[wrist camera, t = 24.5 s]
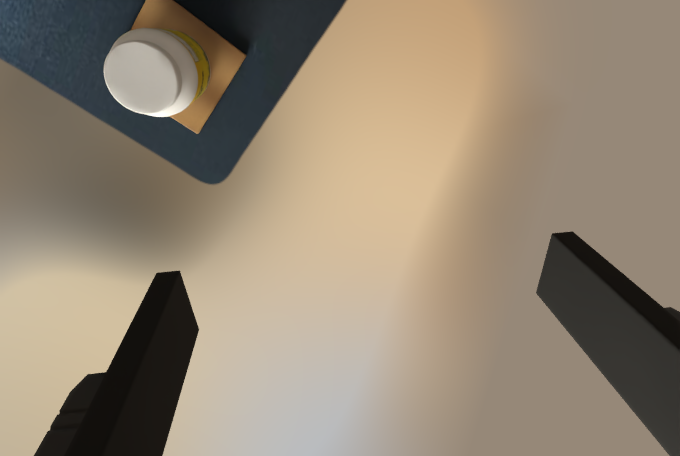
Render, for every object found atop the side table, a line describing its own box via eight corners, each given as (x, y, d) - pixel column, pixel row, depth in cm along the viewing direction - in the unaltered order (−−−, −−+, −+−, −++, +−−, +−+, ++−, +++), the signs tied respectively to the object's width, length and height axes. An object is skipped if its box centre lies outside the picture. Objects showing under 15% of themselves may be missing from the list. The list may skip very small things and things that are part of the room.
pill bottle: (182, 115, 38) (150, 144, 28) (126, 63, 35) (68, 75, 25) (226, 69, 36) (208, 83, 27) (171, 12, 34) (130, 4, 24)
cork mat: (155, -14, 33) (153, -15, 33) (246, 55, 37) (246, 55, 36) (108, 75, 36) (106, 76, 35) (198, 133, 39) (197, 134, 39)
